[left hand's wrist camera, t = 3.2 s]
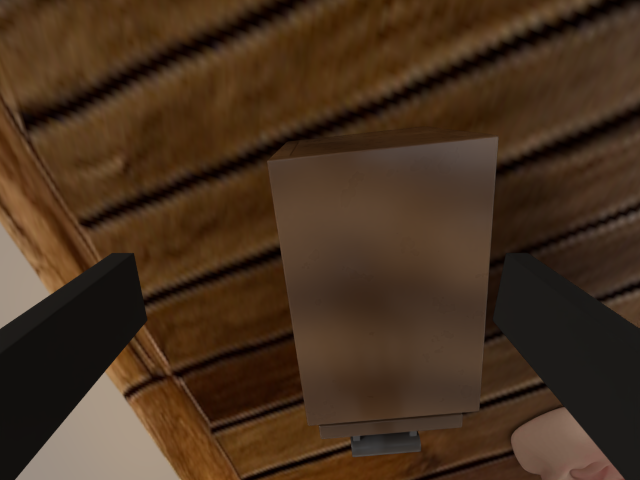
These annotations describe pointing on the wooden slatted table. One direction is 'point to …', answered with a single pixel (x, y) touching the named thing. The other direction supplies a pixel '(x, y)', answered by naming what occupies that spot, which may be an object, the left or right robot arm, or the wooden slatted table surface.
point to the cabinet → (387, 269)
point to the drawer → (388, 433)
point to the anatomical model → (560, 449)
